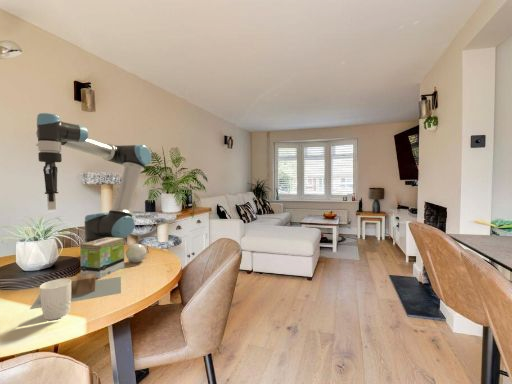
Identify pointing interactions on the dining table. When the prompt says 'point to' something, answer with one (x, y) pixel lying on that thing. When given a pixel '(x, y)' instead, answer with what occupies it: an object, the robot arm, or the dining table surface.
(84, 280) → the walnut block
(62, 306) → the white cup
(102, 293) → the rubber mat
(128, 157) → the robot arm
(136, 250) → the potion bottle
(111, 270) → the tea box
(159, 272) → the dining table surface
